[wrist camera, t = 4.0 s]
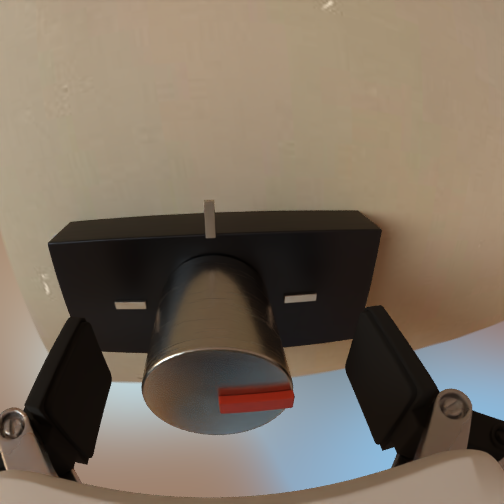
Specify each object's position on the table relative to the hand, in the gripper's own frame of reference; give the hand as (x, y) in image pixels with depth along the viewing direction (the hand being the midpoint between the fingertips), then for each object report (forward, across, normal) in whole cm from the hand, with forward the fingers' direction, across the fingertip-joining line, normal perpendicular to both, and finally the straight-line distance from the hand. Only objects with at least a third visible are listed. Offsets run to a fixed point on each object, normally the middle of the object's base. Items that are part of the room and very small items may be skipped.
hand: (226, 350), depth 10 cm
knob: (+3, 0, 0) cm, 3 cm away
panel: (+6, 0, 0) cm, 6 cm away
